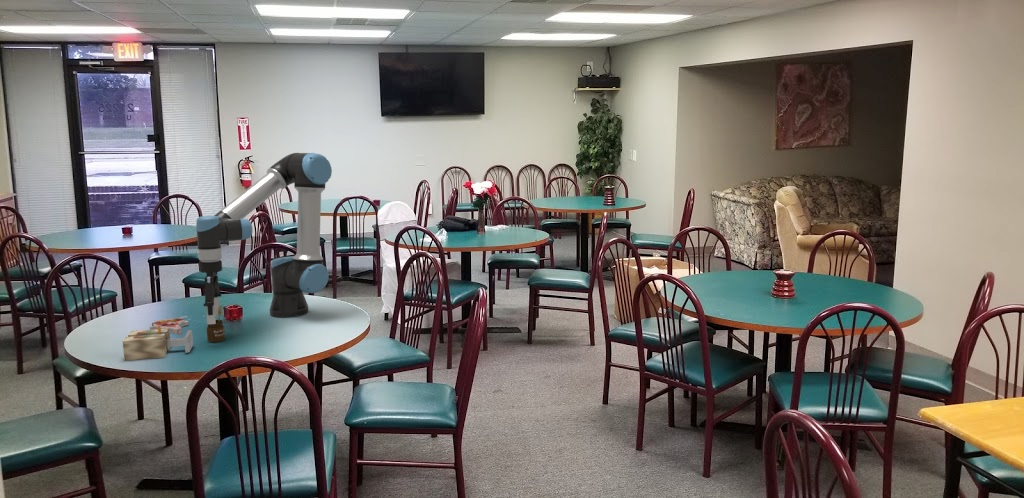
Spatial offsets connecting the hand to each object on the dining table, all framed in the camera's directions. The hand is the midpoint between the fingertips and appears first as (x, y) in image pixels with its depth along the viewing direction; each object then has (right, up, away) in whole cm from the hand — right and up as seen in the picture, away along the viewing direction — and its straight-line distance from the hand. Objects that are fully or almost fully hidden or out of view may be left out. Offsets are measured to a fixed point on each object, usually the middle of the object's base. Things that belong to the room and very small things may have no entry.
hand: (213, 319), depth 274 cm
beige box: (-17, -10, -13) cm, 24 cm away
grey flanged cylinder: (-11, -9, -11) cm, 18 cm away
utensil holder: (0, -8, +2) cm, 8 cm away
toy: (-22, -6, +17) cm, 29 cm away
